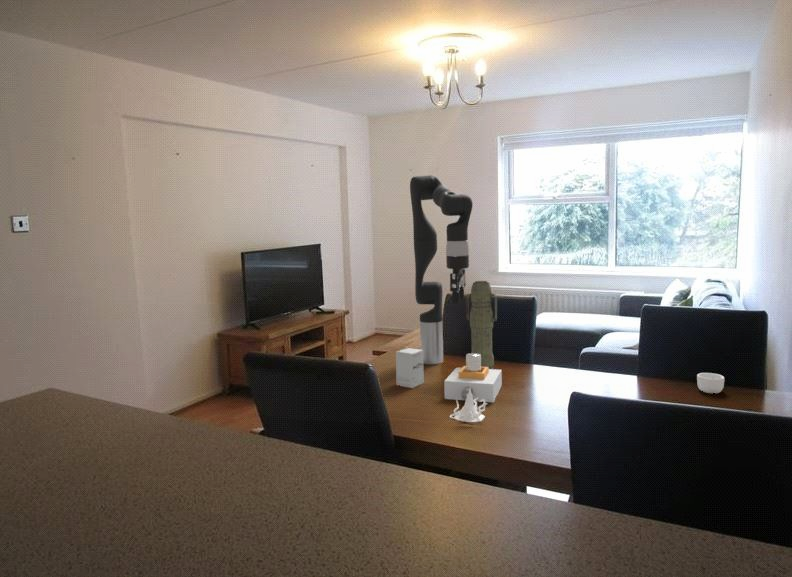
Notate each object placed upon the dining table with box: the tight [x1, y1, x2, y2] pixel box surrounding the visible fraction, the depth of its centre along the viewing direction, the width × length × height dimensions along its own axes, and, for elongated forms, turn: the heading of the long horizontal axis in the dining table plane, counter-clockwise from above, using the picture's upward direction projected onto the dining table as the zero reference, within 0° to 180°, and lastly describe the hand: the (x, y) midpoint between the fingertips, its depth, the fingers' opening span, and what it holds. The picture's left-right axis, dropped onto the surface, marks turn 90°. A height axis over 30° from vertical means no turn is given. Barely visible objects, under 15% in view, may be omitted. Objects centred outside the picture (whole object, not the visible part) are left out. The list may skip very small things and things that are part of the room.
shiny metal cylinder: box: [465, 352, 481, 372], centre depth 186 cm, size 5×5×10 cm
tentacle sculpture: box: [449, 387, 489, 423], centre depth 162 cm, size 9×12×9 cm
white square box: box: [443, 365, 503, 403], centre depth 185 cm, size 22×16×8 cm
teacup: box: [696, 372, 725, 394], centre depth 180 cm, size 10×8×5 cm
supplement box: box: [395, 347, 425, 389], centre depth 198 cm, size 7×7×13 cm
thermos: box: [464, 280, 498, 369], centre depth 211 cm, size 9×12×35 cm
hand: (458, 301), depth 189 cm, fingers open, 8 cm apart
